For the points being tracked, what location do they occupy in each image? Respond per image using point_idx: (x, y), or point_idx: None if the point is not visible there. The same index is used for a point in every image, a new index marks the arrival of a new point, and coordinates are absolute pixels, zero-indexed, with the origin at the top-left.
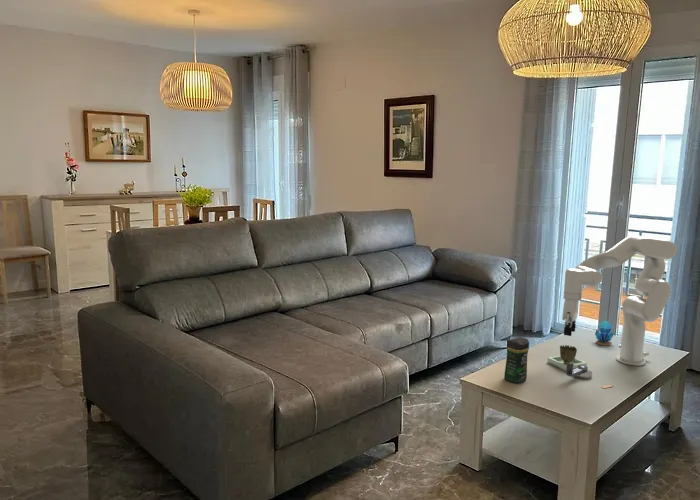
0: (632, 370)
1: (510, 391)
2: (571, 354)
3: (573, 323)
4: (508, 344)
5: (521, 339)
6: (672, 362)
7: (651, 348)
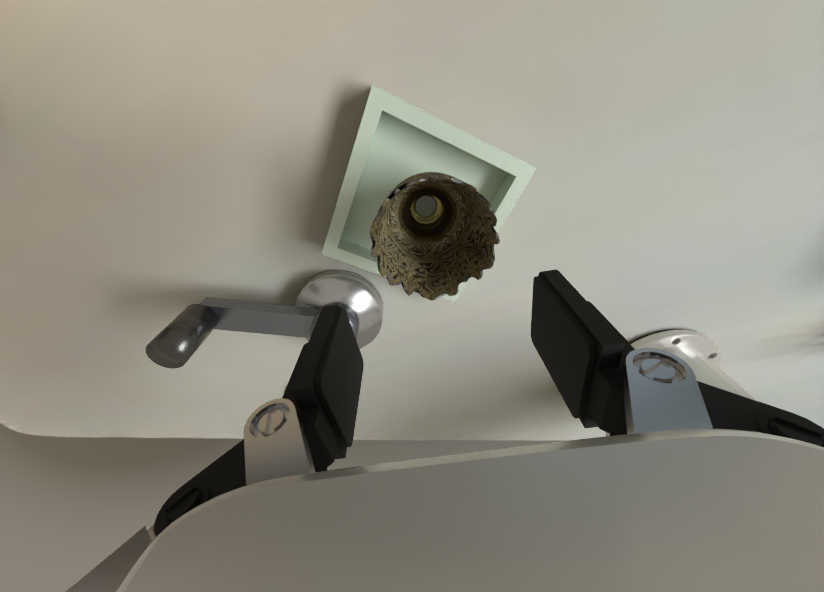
0: (541, 397)
1: None
2: (394, 268)
3: (588, 407)
4: None
5: None
6: None
7: None
